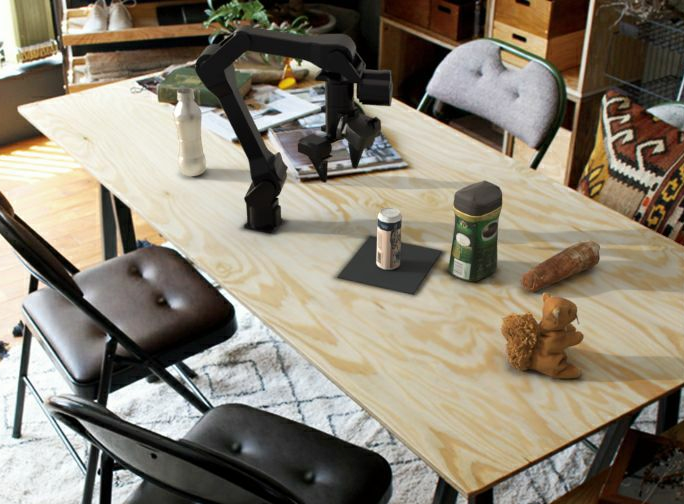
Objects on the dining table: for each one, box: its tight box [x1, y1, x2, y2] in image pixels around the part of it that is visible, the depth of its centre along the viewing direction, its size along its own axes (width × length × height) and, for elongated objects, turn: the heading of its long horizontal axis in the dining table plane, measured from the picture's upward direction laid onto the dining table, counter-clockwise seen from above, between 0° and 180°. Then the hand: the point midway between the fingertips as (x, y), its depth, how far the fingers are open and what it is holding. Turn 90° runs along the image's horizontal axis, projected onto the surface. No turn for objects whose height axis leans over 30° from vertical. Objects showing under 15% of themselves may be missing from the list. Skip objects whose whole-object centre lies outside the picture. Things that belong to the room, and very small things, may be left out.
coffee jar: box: [448, 180, 503, 282], centre depth 202 cm, size 10×8×19 cm
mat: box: [336, 235, 443, 295], centre depth 209 cm, size 16×18×1 cm
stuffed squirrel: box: [500, 292, 585, 379], centre depth 179 cm, size 10×14×13 cm
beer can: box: [376, 207, 403, 270], centre depth 205 cm, size 5×5×12 cm
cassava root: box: [520, 239, 601, 293], centre depth 205 cm, size 6×19×6 cm, turn 127°
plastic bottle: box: [172, 87, 207, 177], centre depth 235 cm, size 6×7×20 cm
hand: (339, 174), depth 212 cm, fingers open, 9 cm apart
